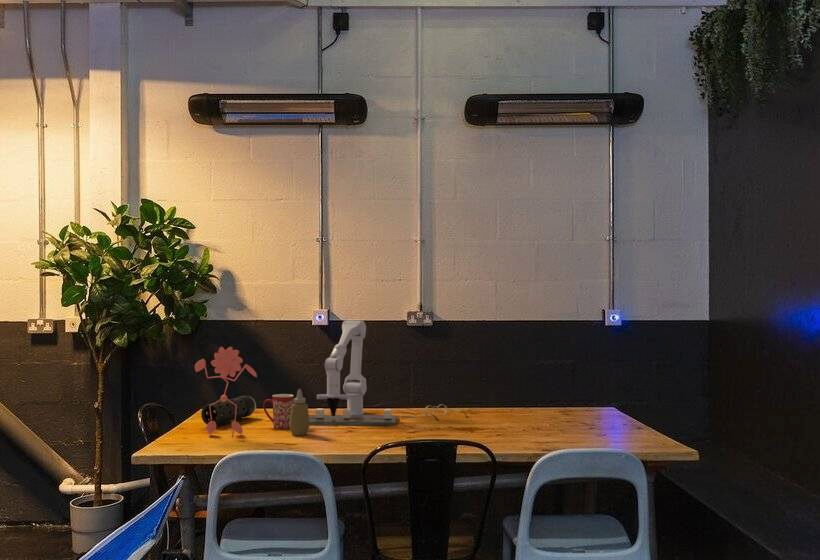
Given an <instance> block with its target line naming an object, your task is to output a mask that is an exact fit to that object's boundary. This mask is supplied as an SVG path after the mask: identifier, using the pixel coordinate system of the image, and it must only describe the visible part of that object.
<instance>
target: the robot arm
mask: <svg viewBox="0 0 820 560" xmlns="http://www.w3.org/2000/svg"><path fill="white" fill-rule="evenodd" d="M341 331H342V334H341V336H340V339H339V342H338V343H337V344H335V345H334V347H333V349H332V352H331V353H330V356H329V357H327V358H326V359H325V362H324V369H325V373H326V393H322V394H321V393H319V394H316V400H326V403H327V405H328V407H329V410H330V413H331V414H330V415H332V416H335V415H337V414H336V413H337V409H338V406H339V403H340V401H341V400H346V402H347V404H346V405H347V406H346V407H347V408H346V409H351V415H365V413H366V412H365V411H364V410H363V408H364V406H363V405H364V402H363V401H364V399H363V398H364V396H365V394H366V392H367V389H368V385H367V379H366V377H364V376H363V374H362V361H363V360H362V359H363V346H364V345H363V344H364V342H363V341H364V339H365V338H366V332H367V324H366V323H365V321H364V320H363V319H362V320H355V319H354V320H352V319H350V320H347V319H344V321H343V322H342V324H341ZM350 341H351V354H350V355H351V356H350V368H349V369H350V370H349V374H348V375H347V376H346V377H345V378H344V383H343V386H342V388H343V392H344V393H345V394H343V393H341V370H342V369H343V367H344V366H343V364H344V357H345V356H346V354H347V352H348V351H347V345H348V344H349V342H350Z"/></svg>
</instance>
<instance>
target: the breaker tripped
mask: <svg viewBox="0 0 820 560" xmlns="http://www.w3.org/2000/svg"><path fill="white" fill-rule="evenodd" d="M342 415H343V418H350V417H351V409H347V408H344V409H343V410H342Z"/></svg>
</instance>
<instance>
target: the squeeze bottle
mask: <svg viewBox="0 0 820 560" xmlns="http://www.w3.org/2000/svg"><path fill="white" fill-rule="evenodd" d="M309 415H310V414H309V406H308V403H306V397H303V391H302V389H301V388H299V389H298V390H297V393H296V397H295V398H294V397H293V404H292V405H291V413H290V423H289V427H290V428H289V430H290V432H291V435H292V436H297V437H299V436H302V437H303V436H306V435H308V432H309V429H310V426H311V425H310V424H309Z"/></svg>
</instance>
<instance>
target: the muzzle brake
mask: <svg viewBox="0 0 820 560" xmlns="http://www.w3.org/2000/svg"><path fill="white" fill-rule="evenodd" d="M229 400H230V401H231V402H233V403H234V404H236V405H234V404H233V403H231V402H230V401H228V400H227V401H225V402H223V401H221V400H220V401H218V402H216V401H215V402H216V403H215V402H212V403H208V404H205V405H204V406H203V407H202V409H201V413H200V415H201V419H202V421H203V423H204V425H206V426H207V425H208V423H209V422H211V416H212V422H213V421H214V422H215V423H216V427H217V426H222V425H225V424H227V423H228V424H229V423H230V422H233V421H235V411H236V422H238V421H242V420H243V418H247V417H250V416H252V414H254V412H255V411H256V409H257V404H256V403H257V402H256V400H255V399H254V398H253V397H252V396H250V395H241V396H237V397H236V398H230V399H229ZM213 403H215V404H213ZM211 404H213V405H211ZM210 405H211V406H210ZM209 406H210V408H209ZM236 406H237V410H236ZM210 409H211V416H210Z"/></svg>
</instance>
